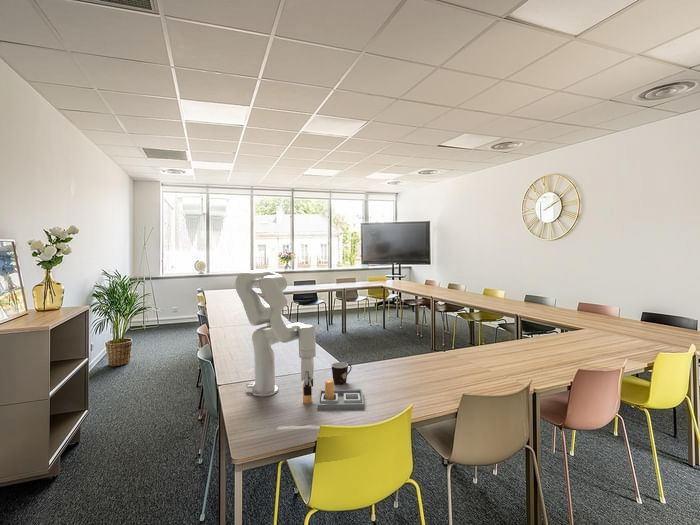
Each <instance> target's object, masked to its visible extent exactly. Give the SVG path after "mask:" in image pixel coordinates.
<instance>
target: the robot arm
mask: <svg viewBox="0 0 700 525" xmlns="http://www.w3.org/2000/svg"><path fill="white" fill-rule="evenodd" d="M287 285H288V282H287V279H286V278H285V277H284V275H282V274H280V273H276V272H273V271H270V270H267V269H253V270H246V271H242V272H240V273H238V275H237V276H236V278H235V282H234V287H235V291H236V293H237V296H239V298H240V301H241V303H242V305H243V309H244V311H245V315H246V317H247V320H248V323H249V324H250V325H251V326H253V327H258V326H261V327H259V328H257V329H255V330H254V331H253V333H252V335H251V341H252V345H253V356H254V358H253V360H254V381H252V382H246V384H245V387H246V388H247V389H251V394H252V395H253V396H255V397H264V398H265V397H269V396H270V397H271V396H273V395H275V394H276V393H278V391H279V387H278V386H277V385H276V371H275V370H276V366H275V365H276V364H275V362H276V361H275V360H276V359H275V352H274V350H273V348H272V346H273V345H276V344H279V343H283V344H287V343H290V342H293V341H296V340H298V357H299V358H300V381H301V382H302V381H303V383H304V396H309V395H311V383H312V388H313V387H314V369H315V368H314V366H315V363H314V362H315V361H314V358H315V357H317V347H316V344H317V342H316V327H315V326H314V325H313V324H306V323H303V322H292V323H289V324H285V322H284V320H283V319H282V310H283V309H284V308H285V307H286V306H287V304H288V299H287V297H286V295H285V294H284V292H283V291H285V290H286V289H287V287H288V286H287ZM253 288H259V289H260V291H261V293H262V295H263V297H264V299H265V301H266V302H267V303H266V304H263V303H262V301H261V299H260V296H259V294H258V293H257V291H255V290H253ZM263 325H265V326H263Z"/></svg>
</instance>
